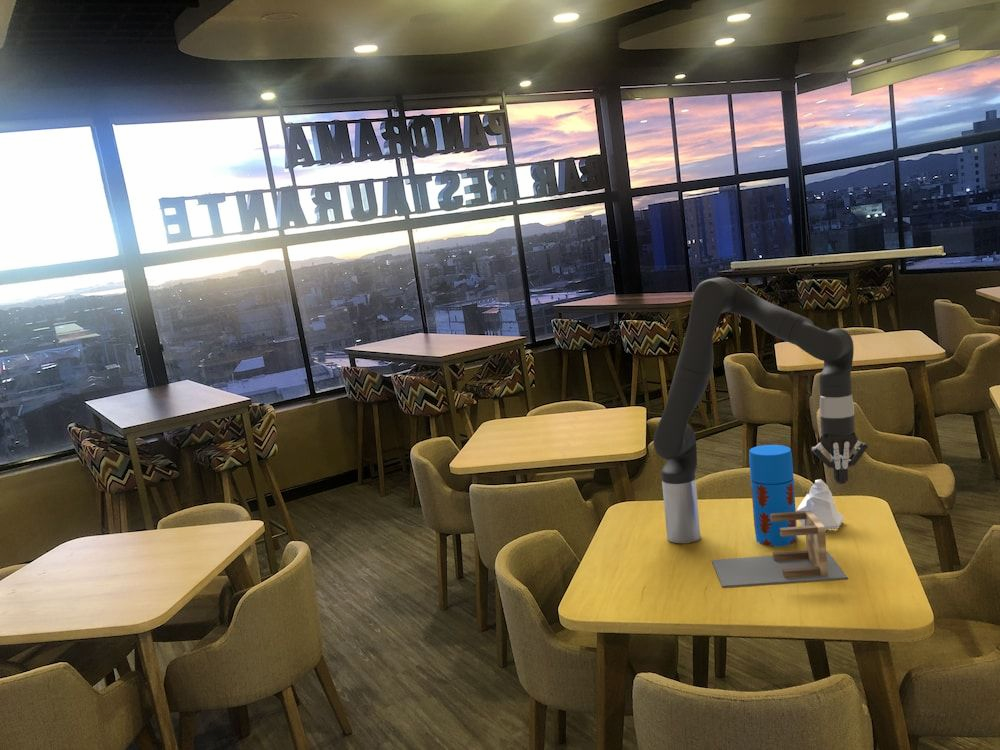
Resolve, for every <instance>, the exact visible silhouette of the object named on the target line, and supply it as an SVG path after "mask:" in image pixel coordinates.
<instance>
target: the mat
mask: <svg viewBox="0 0 1000 750" xmlns="http://www.w3.org/2000/svg"><path fill="white" fill-rule="evenodd" d="M826 554H827V571H828V575H819V576H805V577H790V578H784V576H783V569H789V568H803V567H815V566H814V565H813V564H812V562H811V561H810V559H796V560H782V561H774V559H773V554H772V555H761V556H746V557H737V558H736V557H735V558H734V557H733V558H720V559H719V558H717V559H711V562H712V565H713V568H714V570H715V572H716V573H715V574H716V575H717V578H718V580H719V582H720V585H721V587H722V588H731V587H732V588H733V587H747V586H748V587H749V586H760V585H761V586H763V585H776V584H787V583H788V584H791V583H802V582H803V583H804V582H817V581H818V582H820V581H832V580H833V581H834V580H847V579H849V577H848V575H847V574H846V573H845V572H844V571H843V569H842V568H841V567H840V565H839V564H838V562H837V561H836V560H835V559H834V557H833V556H832V555H831V553H830V552H828V551H827V550H826Z"/></svg>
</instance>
